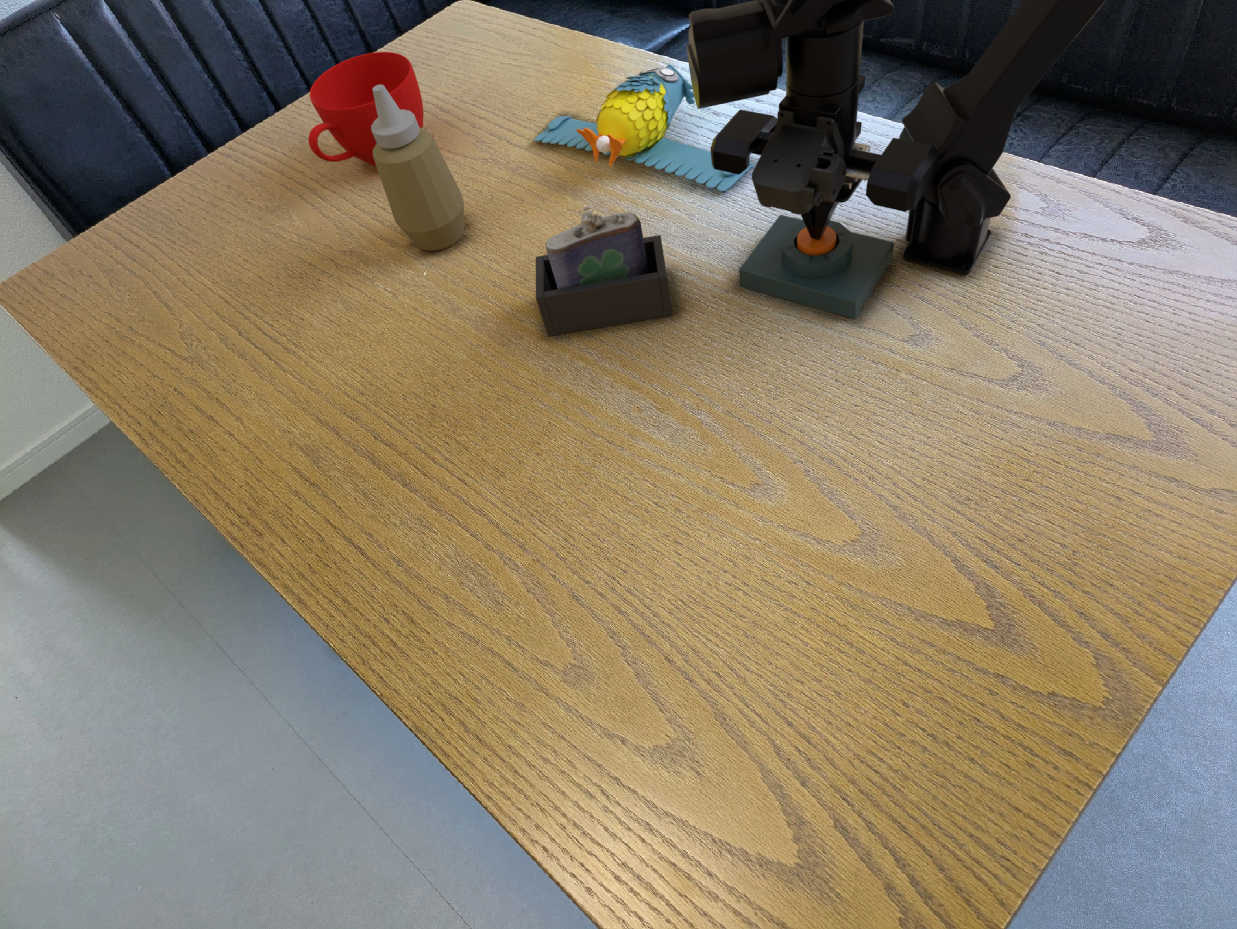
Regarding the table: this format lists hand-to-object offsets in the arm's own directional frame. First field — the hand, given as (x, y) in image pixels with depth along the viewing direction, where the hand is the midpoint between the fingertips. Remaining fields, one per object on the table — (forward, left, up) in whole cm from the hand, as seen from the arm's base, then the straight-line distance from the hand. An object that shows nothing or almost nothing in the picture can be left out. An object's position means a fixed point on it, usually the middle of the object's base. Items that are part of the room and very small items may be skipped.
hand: (817, 236), depth 77 cm
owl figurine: (+28, -12, -5) cm, 31 cm away
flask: (+17, +12, -4) cm, 21 cm away
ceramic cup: (+60, +1, -5) cm, 60 cm away
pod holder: (+17, +12, -4) cm, 21 cm away
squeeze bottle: (+42, +10, -5) cm, 44 cm away
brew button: (0, 0, -2) cm, 2 cm away
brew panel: (0, 0, -4) cm, 5 cm away
